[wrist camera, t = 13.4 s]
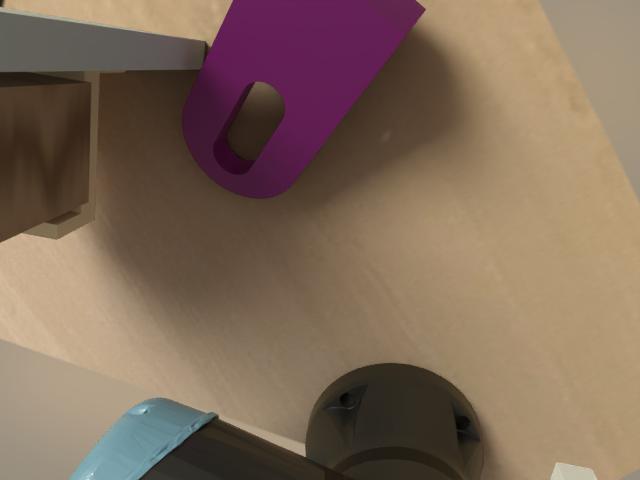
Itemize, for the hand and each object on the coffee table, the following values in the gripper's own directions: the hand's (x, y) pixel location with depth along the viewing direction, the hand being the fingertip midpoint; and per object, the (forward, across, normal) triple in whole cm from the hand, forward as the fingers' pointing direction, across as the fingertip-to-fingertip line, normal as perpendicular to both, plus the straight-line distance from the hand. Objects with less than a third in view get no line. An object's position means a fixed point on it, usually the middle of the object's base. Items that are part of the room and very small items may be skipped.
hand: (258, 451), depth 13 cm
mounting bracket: (+32, +5, -7) cm, 33 cm away
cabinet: (+25, +20, -1) cm, 32 cm away
